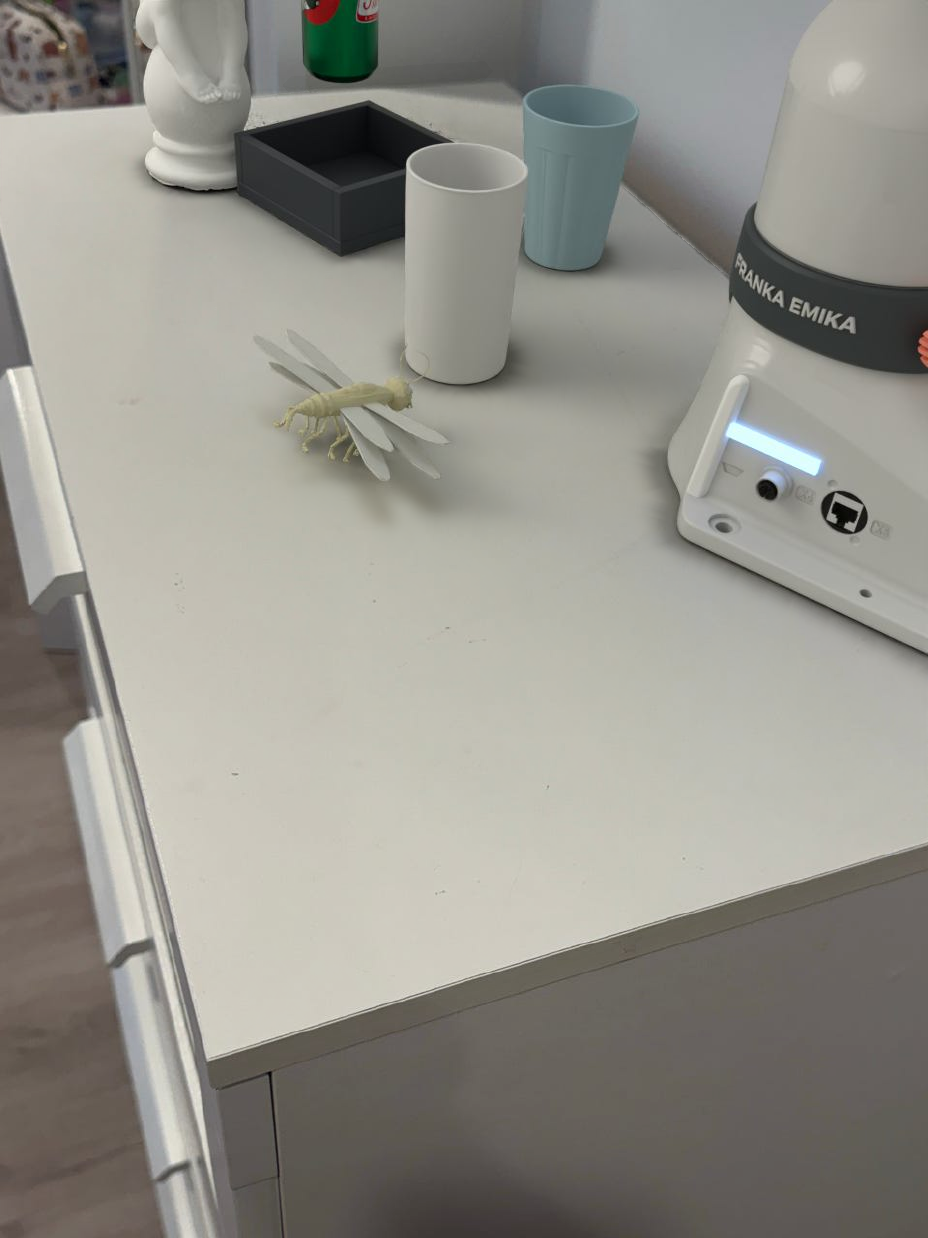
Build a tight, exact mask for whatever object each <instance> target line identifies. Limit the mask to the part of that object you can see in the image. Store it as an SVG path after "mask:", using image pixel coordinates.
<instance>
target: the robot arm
mask: <svg viewBox="0 0 928 1238" xmlns="http://www.w3.org/2000/svg"><path fill="white" fill-rule="evenodd" d="M761 180H762V181H761V185H760V189H759V193H758V197H757V200H756V201H755V202H754V203H753V204H752V205H751V206H750V207H749V208H748V209H747V211H746V213H745V216H744V219H743V223H742V226H741V230H740V234H739V237H738V241H737V244H736V249H735V253H734V256H733V261H732V265H731V270H730V274H729V277H728V278H729V279H728V302H729V306H728V309H727V313H726V315H725V319H724V323H723V325H722V328H721V332H720V334H719V337H718V339H717V343H716V346H715V349H714V351H713V354H712V357H711V359H710V362H709V365H708V366H707V370H706V372H705V374H704V376H703V379H702V381H701V383H700V385H699V387H698V390H697V393H696V395H695V396H694V399H693V400H692V403H691V404H690V407H689V409H688V411H687V412H686V414H685V415H684V418H683V420H682V421H681V423H680V424H679V426H678V428H677V429H676V431H675V432H674V434H673V435H672V437H671V438H670V441H669V444H668V447H667V455H666V456H667V457H666V458H667V466H668V471H669V473H670V476H671V479H672V481H673V483H674V486H675V488H676V489H677V491H678V494H679V500H680V501H679V506H678V511H677V516H676V526H677V530H678V532H679V535H681V536H682V537H683V538H685V539H686V540H687V541H689V542H690V543H693V544H694V545H697V546H699V547H701V548H703V549H705V550H707V551H710V552H711V553H713V554H716V555H717V556H719V557H722V558H724V559H726V560H728V561H731V562H732V563H735V564H737V565H739V566H741V567H743V568H745V569H747V570H749V571H752V572H753V573H756V574H758V575H760V576H762V577H764V578H766V579H769V580H770V581H772V582H774V583H777V584H779V585H780V586H783V587H785V588H787V589H789V590H792V591H794V592H796V593H798V594H800V595H802V596H804V597H806V598H808V599H810V600H813V601H815V602H817V603H819V604H821V605H823V606H825V607H828V608H829V609H832V610H834V611H836V612H837V613H841V614H842V615H844V616H846V617H849V618H851V619H853V620H855V621H857V622H859V623H861V624H863V625H865V626H867V627H870V628H872V629H874V630H876V631H878V632H880V633H882V634H884V635H886V636H889V637H890V638H893V639H895V640H897V641H898V642H900V643H903V644H906V645H908V646H910V647H912V648H913V649H916V650H918V651H920V652H922V653H925V654H927V655H928V0H831V2H830V3H829V4H827V5H826V6H825V7H824V8H823V9H822V10H821V12H819V13H818V15H817V16H816V17H815V18H814V19H813V21H811V23H810V24H809V26H808V27H807V28H806V30H805V32H804V33H803V35H802V37H801V38H800V39H799V42H798V44H797V46H796V48H795V49H794V52H793V55H792V57H791V60H790V63H789V67H788V69H787V75H786V78H785V83H784V87H783V91H782V96H781V100H780V104H779V108H778V113H777V117H776V121H775V126H774V129H773V134H772V139H771V142H770V146H769V151H768V155H767V159H766V163H765V166H764V171H763V176H762V179H761Z"/></svg>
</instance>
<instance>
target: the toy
mask: <svg viewBox="0 0 928 1238" xmlns="http://www.w3.org/2000/svg"><path fill="white" fill-rule="evenodd" d="M284 332H285V336H286V339H287V342H288V343H289V344H290V345H291V346H293V348H295V349H296V350H297V352H298V353H300V355H302V357H304V358H305V359H306V360H308V361H309V362H310V363H312V365H314V366H315V367H316V368H317V369H316V368H315V367H313V366H311V365H309V364H307V363H305V362H303V361H300V360H299V359H297V358H296V356H295V357H294V356H293V355H292V354H291V353H289V352H288V351H286V350H284V349H283V348H282V347H280V346H278V345H277V344H275V343H274V342H272V341H271V340H268V339H266V338H264V337H263V336H260V335H257V334H256V335H253V336H252V340H253V342H254V344H255V345H256V346H257V347H258V348H259V349H260V350H261V351H262V352H263V353H265V354H266V355H267V356H269V357H270V358H271V359H272V360H273V361H275V362H273V361H269V362H268V363H267V364H268V366H269V368H270V369H271V370H272V371H273V372H275V373H276V374H277V375H280V376H281V377H282V378H283V379H285V380H287V381H289V382H291V383H292V384H295V385H296V386H298V387H300V388H302V389H304V390H306V391H308V392H309V393H311V394H313V395H312V396H311V397H310V398H309V397H307V398H305V399H304V400H303V401H301V402H300V403H299V404H298V405H296V404H295V405H290V406H288V407H287V410H286V411H285V415H284V416H283V419H282V420H281V422H280V423H279V422H276V421H273V422H272V425H273V427H274V428H275V429H276V430H277V429H279V428H282V427H283V426H285V430H286V432H289V431H290V430H289V429H290V427H291V424H292V422H293V420H294V416H295V415H296V414H301V415H302V416H305V427H304V429H299V430H298V431H297V432H298V434H301V436H302V437H306V435H307V432H308V431H309V429H310V418H313V417H314V418H315V421H314V425H313V430H311V431H310V434H311V436H309V437H308V438H306V439H304V441H303V443H302V444H301V451H302V452H303V453H305V454H309V449H308V447H307V444H309V443H310V442H311V441H313V440H315V439H316V438H317V437H319V436H322V435H323V434H324V433H325V429H326V427H327V424H328V421H329V418H332V420H333V421H334V424H335V428H336V431H337V437H335V439H336V441H334V443H331V445H330V447H329V451H328V453H327V457H328V458H331V460H333V461H336V457H335V454H334V453H333V452H334V448H336V447H337V446H339V444H341V443H342V442H343V441H345V440H346V439H347V438H348V436H349V435H350V436H351V438H352V440H353V441H352V442H351V444H350V445H349V447H348V449H347V451H346V453H345V454H344V457H343V459H342V460H343V462H344V463H350V459H349V457H350V456H351V453H352V451H353V448H354V446H355V447H356V449H355V450H354V451H353V453H352V455H353V456H355V457H359V455H360V456H361V458H362V460H363V463H364V465H365V466H366V467H367V468H368V469H369V470H370V472H371V473H372V474H373V475H374V476H375V477H376V478H377V479H378V480H380V481H381V482H386V483H389V482H390V481H391V472H390V469H389V467H388V464H387V461H386V458H385V455H384V454H383V453H382V450H384V451H386V452H388V453H392V452H393V451H394V447H395V448H396V449H397V450H398V452H400V453H401V454H402V456H404V458H406V459H407V460H408V461H409V462H410V463H411V464H412V465H413V466H414V467H415V468H416V469H418V470H419V471H421V472H423V473H424V474H426V475H428V476H430V477H432V478H433V479H434V480H438V481H439V480H441V479H442V475H441V473H440V471H439V469H438V468H437V467H436V465H435V464H434V463H433V462H432V460H431V459H430V457H429V456H428V455H427V454H426V453H425V452H424V451H423V450H422V449H421V447H420V446H419V445H418V444H417V443H416V442H415V441H414V440H413V439H412V438H411V437H410V436H409V435H408V434H407V433H409V434H411V435H413V436H415V437H417V438H419V439H421V440H423V441H425V442H427V443H431V444H435V445H438V446H443V447H444V446H449V445H450V441H449V440H448V438H446V437H445V436H444V435H443V434H441V433H439V432H438V431H436V430H434V429H432V428H430V427H427V425H424V424H422V423H420V422H418V421H417V420H413V419H412V418H410V417H408V416H406V415H404V414H402V413H400V412H401V411H404V409H412V408H413V407H414V406H413V402H412V399H413V393H414V389H413V388H412V387H411V386H410V384H411V383H414V382H416V381H419V380H420V379H422V378H423V377H424V375H426V373H427V372H428V370H429V368H430V367H428V368H427V369H428V370H426V371H427V372H426V371H425V372H426V373H425V372H424V373H425V374H423V375H420V376H419V377H418V378H416V379H413V380H410V381H408V382H407V381H406V380H404V379H403V374H402V361H403V358H404V356H405V349H406V346H408V344H407V343H406V346H405V345H404V349H402V352H401V355H400V357H399V361H400V362H399V371H400V377H398V376H392V377H390V378H388V379H386V382H385V383H384V386H383V385H377V384H375V383H371V382H365V381H361V382H354V381H353V380H352V379H351V378H350V377H349V376H348V375H347V374H346V373H344V372H343V371H342V370H341V369H340V368H339V367H338V366H337V365H336V364H334V362H333V361H332V360H330V358H328V357H327V356H326V354H324V353H323V352H322V351H321V350H320V349H319V348H318V347H317V346H315V345H314V344H312V343H311V342H310V341H309V340H307V339H306V338H304V337H303V336H302V335H300V334H298V332H295V331H294V330H293V329H290V328H286V329H284ZM414 352H419V353H421V354H422V355H424V356H425V357H426V358H427V360H428V361H429V359H428V357H427V356H426V355H425V354H424V353H422V352H420V351H414ZM276 362H277V363H276ZM428 366H430V362H428ZM386 405H387V406H386ZM337 417H341V418H342V420H343V422H344V424H345V433H344V434H343V435H342V429H341V427H340V424H339V421H338V418H337ZM321 418H324V420H323V423H322V426H321V428H320V430H318V427H319V422H320V419H321ZM406 432H407V433H406ZM381 449H382V450H381Z"/></svg>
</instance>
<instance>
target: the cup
mask: <svg viewBox="0 0 928 1238" xmlns="http://www.w3.org/2000/svg"><path fill="white" fill-rule="evenodd" d="M639 116H640V107H639V106H638V105H637V103H635V102H634V101H633V100H632V99H630V98H629V97H627V96H625V95H624V94H621V93H618V92H615V91H613V90H609V89H605V88H603V87H602V88H601V87H598V86H597V87H596V86H590V85H581V84H554V85H553V84H552V85H546V86H542V87H538V88H535V89H532V90H530V91H529V92H528V93H526V94H525V95H524V97H523V98H522V130H523V131H522V132H523V133H522V134H523V162H524V163H525V164H526V166H527V168H528V178H527V191H526V201H525V209H524V218H523V225H524V227H523V228H524V230H523V231H524V253H525V255H526V256H527V257H528V258H529V259H530V260H531V261H532V262H534V263H536V264H537V265H539V266H542V267H545V268H548V269H552V270H558V271H581V270H585V269H588V268H592V267H594V266H595V265H596V264H598V262H599V261H600V260H601V259H602V255H603V252H604V247H605V245H606V240H607V237H608V233H609V230H610V225H611V222H612V218H613V214H614V210H615V207H616V202H617V199H618V195H619V192H620V187H621V185H622V181H623V176H624V172H625V169H626V166H627V161H628V157H629V154H630V150H631V146H632V142H633V139H634V135H635V131H636V128H637V124H638V120H639Z"/></svg>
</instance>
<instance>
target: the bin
mask: <svg viewBox="0 0 928 1238" xmlns="http://www.w3.org/2000/svg"><path fill="white" fill-rule="evenodd" d="M443 143H456V142H455V141H453V140H452V139H449V138H447V137H445V136H444V135H442V134H439V133H437V132H435V131H433V130H431V129H429V128H427V127H425V126H422V125H421V124H418V123H417V122H414V121H412V120H410V119H408V118H406V117H404V116H402V115H401V114H398V113H396V112H394V111H392V110H390V109H388V108H386V107H384V106H381V105H380V104H377V103H376V102H374V101H372V100H370V99H368V100H367V99H366V100H364V101H360V102H356V103H352V104H347V105H344V106H340V107H335V108H331V109H327V110H324V111H319V112H315V113H311V114H307V115H302V116H299V117H294V118H291V119H287V120H282V121H279V122H273V123H271V124H266V125H263V126H262V125H261V126H258V127H255V128H250V129H249V128H248V129H246V130H245V129H244V131H241V132H237V133H234V144H235V158H236V172H237V185H238V186H237V194H238V195H240V196H242V197H243V198H245V199H246V200H248V201H250V202H251V203H254V205H256V206H258V207H259V208H261V209H263V210H265V211H266V212H267V213H269V214H271V215H273V216H274V217H276V218H278V219H279V220H281V221H282V222H284V223H286V224H287V225H289V226H290V227H292V228H294V229H296V230H297V231H299V232H300V233H302V234H304V235H305V236H307V237H309V238H310V239H312V240H314V241H315V242H317V243H319V245H322V246H324V247H325V248H326V249H328V250H330V251H332V252H333V253H335V254H336V255H338V256H340V257H343V256H345V255H349V254H351V253H354V252H358V251H361V250H364V249H366V248H370V247H373V246H375V245H378V244H382V243H385V242H388V241H391V240H394V239H397V238H400V237H404V236H405V200H406V170H407V167H406V163H407V160H408V158H409V157H410V155H412V154H413V153H414V152H416V151H417V150H419V149H422V148H425V147H428V146H432V145H436V144H443Z"/></svg>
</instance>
